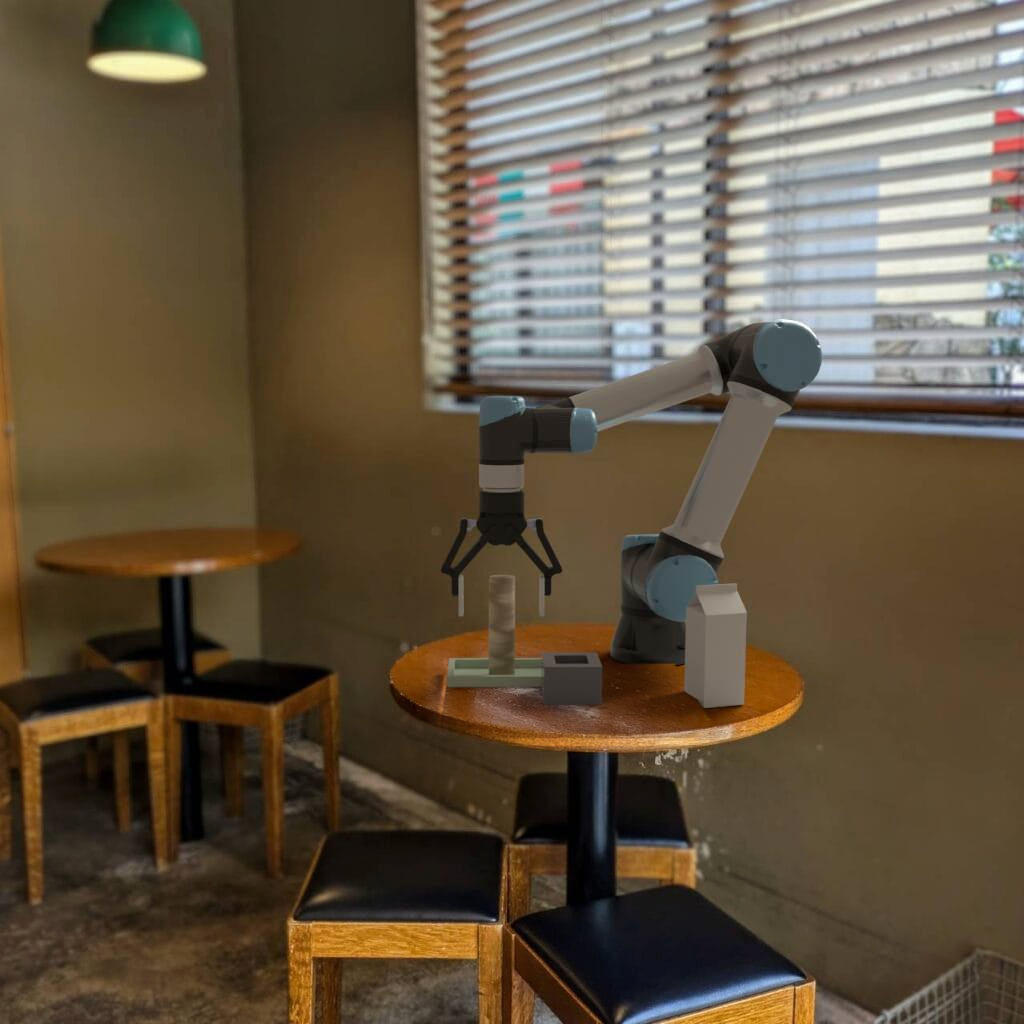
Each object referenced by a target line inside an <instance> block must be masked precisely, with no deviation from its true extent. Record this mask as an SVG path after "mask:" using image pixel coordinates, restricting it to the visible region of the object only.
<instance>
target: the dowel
mask: <svg viewBox="0 0 1024 1024" xmlns="http://www.w3.org/2000/svg"><path fill="white" fill-rule="evenodd" d="M515 636H516V576H515V575H512V574H492V575H489V576H488V658H489V675H515V658H516V653H515V652H516V650H515V649H516V642H515V641H516V637H515Z"/></svg>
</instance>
